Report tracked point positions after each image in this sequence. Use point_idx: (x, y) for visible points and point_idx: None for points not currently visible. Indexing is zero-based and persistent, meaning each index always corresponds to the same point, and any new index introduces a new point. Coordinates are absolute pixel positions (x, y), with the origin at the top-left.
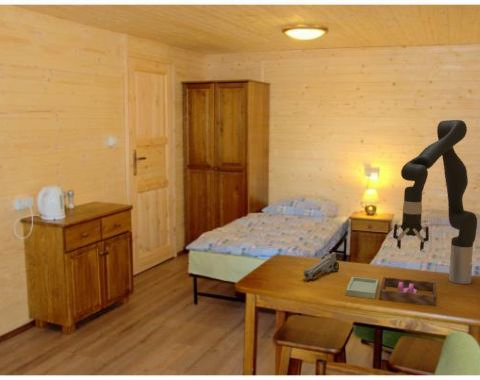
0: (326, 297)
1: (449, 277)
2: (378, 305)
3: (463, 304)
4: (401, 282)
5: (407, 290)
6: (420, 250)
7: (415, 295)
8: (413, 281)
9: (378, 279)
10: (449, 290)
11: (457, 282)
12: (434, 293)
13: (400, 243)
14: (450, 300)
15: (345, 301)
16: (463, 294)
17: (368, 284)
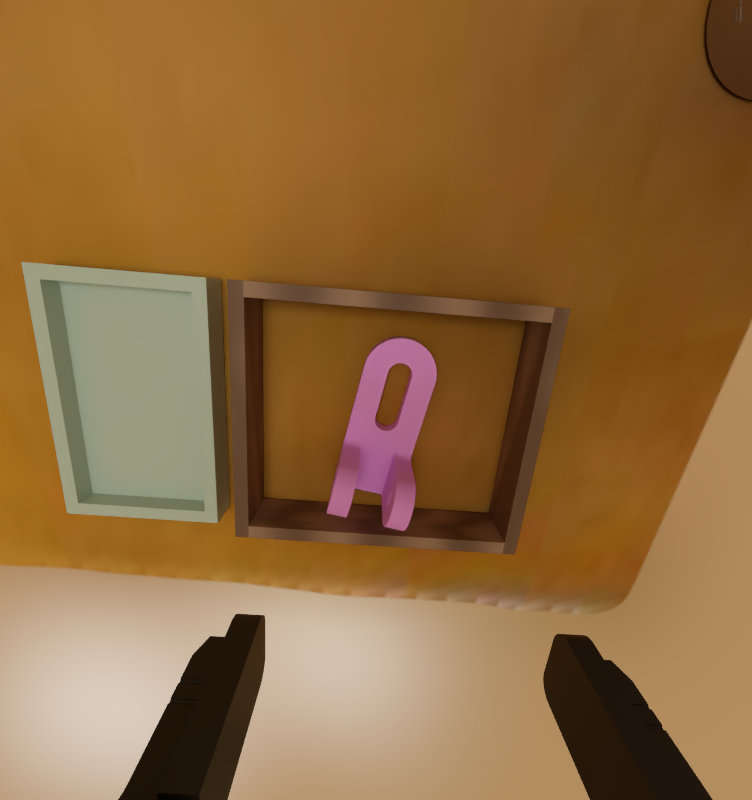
0: (16, 542)
1: (727, 10)
2: (255, 573)
3: (632, 472)
4: (342, 507)
5: (385, 379)
6: (551, 684)
7: (415, 543)
8: (428, 312)
9: (203, 277)
10: (631, 270)
11: (744, 92)
12: (516, 513)
13: (228, 783)
14: (586, 435)
15: (112, 565)
16: (688, 323)
17: (161, 333)
